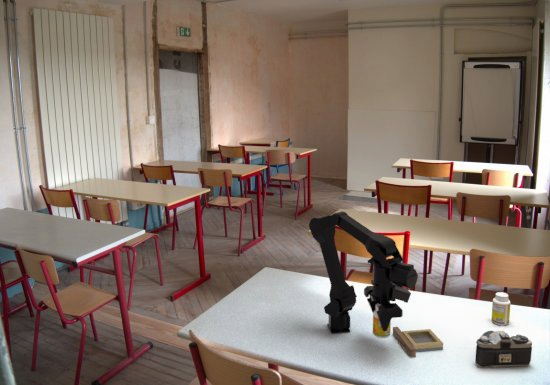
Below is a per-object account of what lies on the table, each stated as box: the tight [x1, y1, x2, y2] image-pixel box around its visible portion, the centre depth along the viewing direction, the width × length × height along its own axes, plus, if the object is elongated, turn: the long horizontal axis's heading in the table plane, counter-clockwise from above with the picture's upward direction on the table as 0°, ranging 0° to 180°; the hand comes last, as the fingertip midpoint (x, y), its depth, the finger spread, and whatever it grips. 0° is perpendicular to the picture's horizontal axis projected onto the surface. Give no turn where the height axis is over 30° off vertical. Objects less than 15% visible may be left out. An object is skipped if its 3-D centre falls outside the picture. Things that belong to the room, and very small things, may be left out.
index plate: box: [401, 328, 444, 353], centre depth 155 cm, size 10×10×2 cm
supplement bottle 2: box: [491, 291, 511, 326], centre depth 168 cm, size 6×6×10 cm
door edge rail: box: [392, 326, 417, 358], centre depth 155 cm, size 2×15×2 cm, turn 7°
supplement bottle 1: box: [372, 304, 392, 339], centre depth 152 cm, size 5×5×10 cm
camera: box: [474, 330, 533, 368], centre depth 145 cm, size 16×10×10 cm, turn 91°
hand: (381, 326), depth 153 cm, fingers closed on supplement bottle 1, 5 cm apart
